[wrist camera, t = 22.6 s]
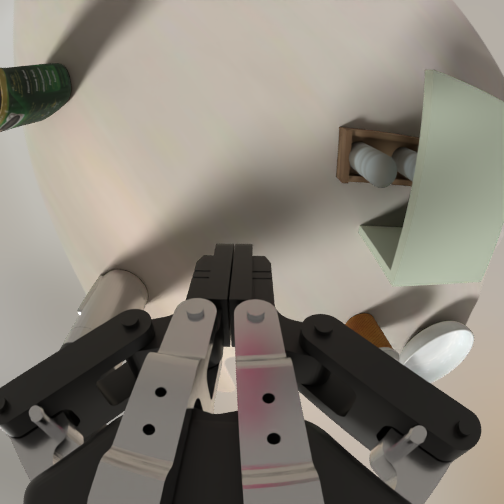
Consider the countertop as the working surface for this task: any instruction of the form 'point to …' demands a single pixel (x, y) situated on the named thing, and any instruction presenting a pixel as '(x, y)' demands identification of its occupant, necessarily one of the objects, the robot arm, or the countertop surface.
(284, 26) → the countertop surface
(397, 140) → the tray
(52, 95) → the coffee jar
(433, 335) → the serving bowl
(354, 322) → the disposable coffee cup
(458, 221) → the sage green storage bin
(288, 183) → the countertop surface
